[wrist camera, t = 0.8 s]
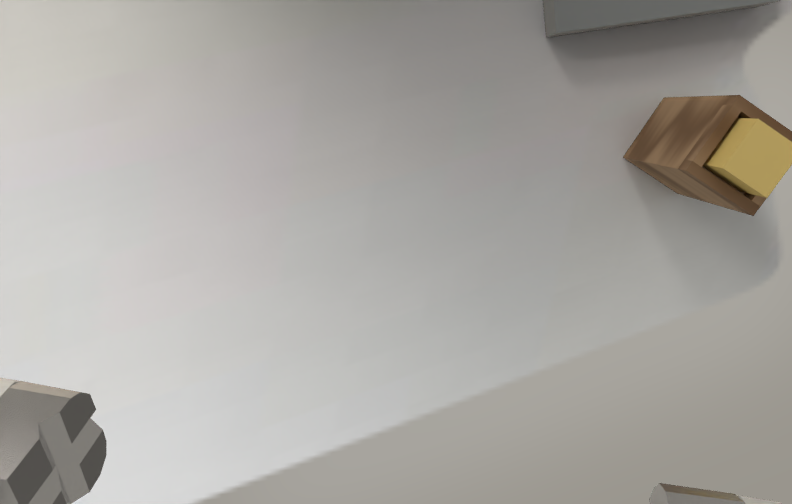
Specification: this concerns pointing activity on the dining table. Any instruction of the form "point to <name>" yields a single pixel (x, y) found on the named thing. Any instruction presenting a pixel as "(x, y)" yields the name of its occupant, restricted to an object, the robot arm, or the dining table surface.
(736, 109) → the crate
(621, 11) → the block
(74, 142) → the dining table surface
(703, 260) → the dining table surface
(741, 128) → the block
